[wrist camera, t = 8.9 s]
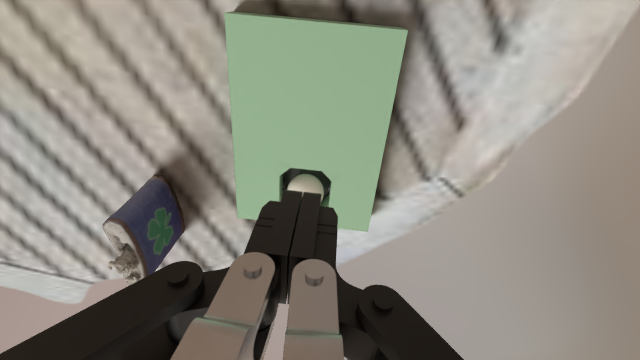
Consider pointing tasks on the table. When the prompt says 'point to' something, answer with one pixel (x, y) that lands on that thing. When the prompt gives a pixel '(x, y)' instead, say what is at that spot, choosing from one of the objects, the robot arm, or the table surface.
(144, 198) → the flask
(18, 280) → the table surface
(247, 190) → the board
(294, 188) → the ball
